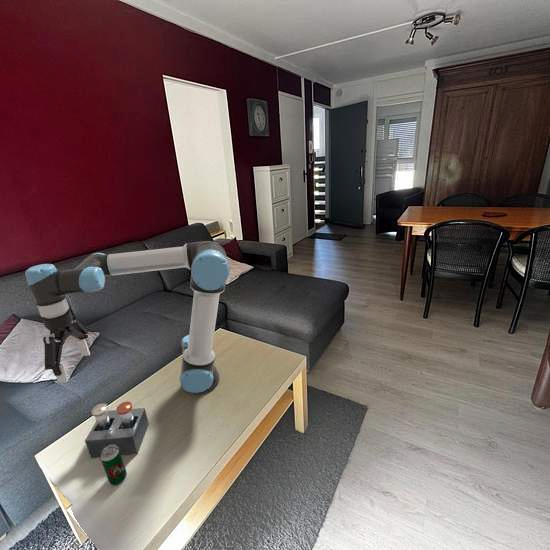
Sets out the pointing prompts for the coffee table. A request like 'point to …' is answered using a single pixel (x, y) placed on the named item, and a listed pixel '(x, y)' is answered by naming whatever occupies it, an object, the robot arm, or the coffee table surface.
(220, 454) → the coffee table surface
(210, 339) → the robot arm
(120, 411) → the orange light bulb
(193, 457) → the coffee table surface
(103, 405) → the white light bulb
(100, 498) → the coffee table surface
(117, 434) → the housing
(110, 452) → the soda can
